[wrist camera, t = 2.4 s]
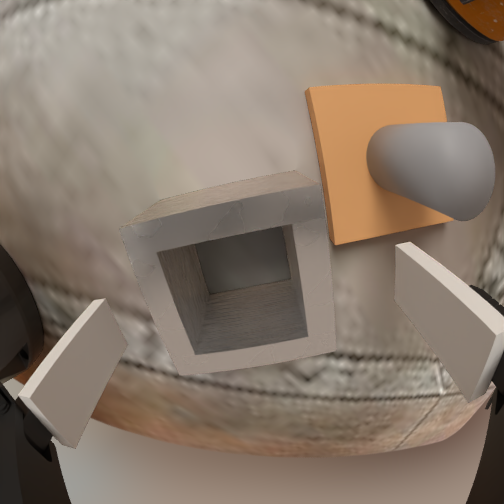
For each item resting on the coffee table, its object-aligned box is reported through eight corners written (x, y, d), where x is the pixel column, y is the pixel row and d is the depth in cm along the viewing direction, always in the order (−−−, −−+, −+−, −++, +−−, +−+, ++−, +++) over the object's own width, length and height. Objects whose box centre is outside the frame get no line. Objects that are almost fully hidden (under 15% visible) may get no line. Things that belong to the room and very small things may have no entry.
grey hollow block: (196, 313, 19) (180, 375, 13) (160, 199, 16) (119, 228, 10) (312, 292, 18) (336, 350, 13) (294, 170, 16) (320, 183, 10)
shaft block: (329, 238, 17) (378, 300, 10) (304, 91, 14) (348, 52, 7) (443, 215, 17) (516, 254, 10) (430, 88, 13) (509, 76, 6)
